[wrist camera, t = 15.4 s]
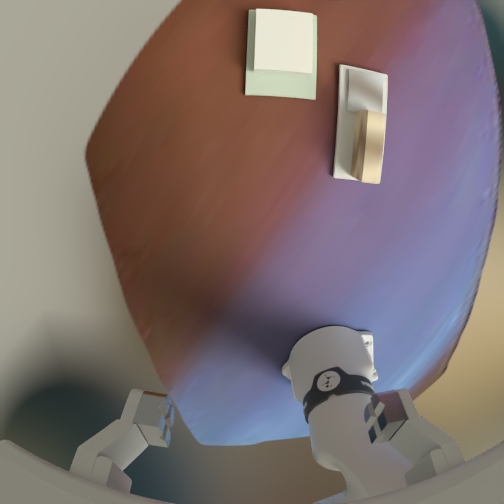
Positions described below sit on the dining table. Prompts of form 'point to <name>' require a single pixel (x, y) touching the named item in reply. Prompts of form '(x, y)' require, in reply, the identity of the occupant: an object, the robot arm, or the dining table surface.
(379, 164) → the turner
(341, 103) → the pad
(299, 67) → the tile
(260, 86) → the mat
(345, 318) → the dining table surface
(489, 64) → the dining table surface
